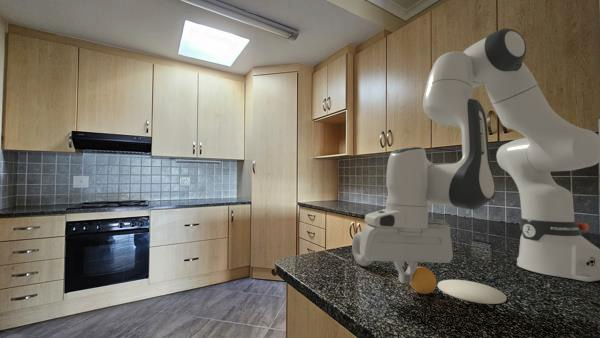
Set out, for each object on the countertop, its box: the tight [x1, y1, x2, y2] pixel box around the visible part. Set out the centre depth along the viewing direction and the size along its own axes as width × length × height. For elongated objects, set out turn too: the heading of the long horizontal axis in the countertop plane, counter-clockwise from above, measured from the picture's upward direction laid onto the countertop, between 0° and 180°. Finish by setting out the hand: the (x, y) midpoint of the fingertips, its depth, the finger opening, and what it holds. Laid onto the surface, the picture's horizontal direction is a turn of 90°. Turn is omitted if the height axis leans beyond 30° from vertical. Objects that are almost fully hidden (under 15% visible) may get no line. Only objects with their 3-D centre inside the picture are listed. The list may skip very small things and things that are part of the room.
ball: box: [408, 266, 437, 295], centre depth 57 cm, size 6×6×6 cm
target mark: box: [437, 279, 508, 305], centre depth 59 cm, size 13×13×1 cm
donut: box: [351, 231, 373, 267], centre depth 77 cm, size 10×4×10 cm, turn 15°
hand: (405, 281), depth 57 cm, fingers closed
